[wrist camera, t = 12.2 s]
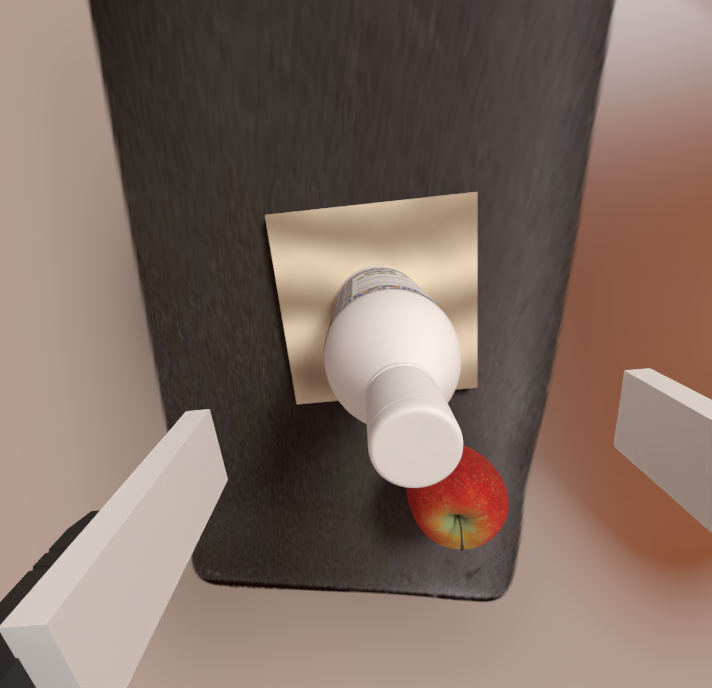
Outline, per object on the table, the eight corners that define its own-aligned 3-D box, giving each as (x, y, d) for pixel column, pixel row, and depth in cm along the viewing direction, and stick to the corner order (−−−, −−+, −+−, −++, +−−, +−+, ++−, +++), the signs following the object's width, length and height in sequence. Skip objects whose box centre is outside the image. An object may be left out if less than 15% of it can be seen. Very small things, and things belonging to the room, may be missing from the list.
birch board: (267, 215, 29) (264, 214, 28) (473, 192, 28) (477, 191, 27) (298, 399, 34) (296, 404, 33) (473, 382, 33) (477, 387, 32)
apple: (490, 485, 37) (537, 576, 27) (411, 502, 37) (430, 597, 28) (477, 415, 34) (524, 488, 25) (392, 435, 35) (407, 514, 26)
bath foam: (321, 283, 30) (261, 392, 10) (403, 250, 29) (498, 303, 10) (354, 359, 32) (352, 565, 12) (431, 329, 31) (555, 503, 12)
